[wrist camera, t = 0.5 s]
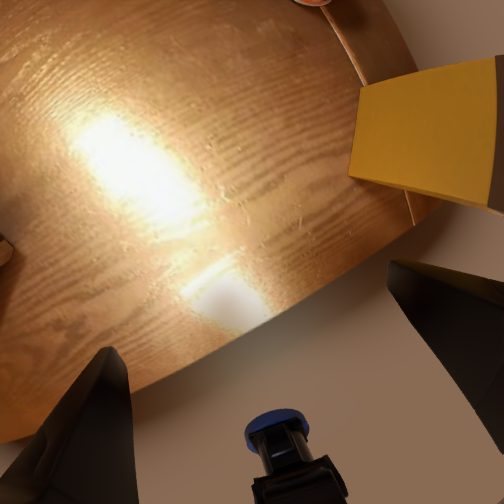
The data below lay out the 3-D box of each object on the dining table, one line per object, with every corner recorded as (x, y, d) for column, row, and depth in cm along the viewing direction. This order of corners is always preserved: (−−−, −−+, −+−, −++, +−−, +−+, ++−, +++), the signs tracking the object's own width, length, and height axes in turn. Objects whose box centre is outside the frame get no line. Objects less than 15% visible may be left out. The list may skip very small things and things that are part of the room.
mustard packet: (388, 187, 22) (538, 229, 9) (346, 176, 20) (508, 213, 8) (400, 104, 20) (546, 95, 7) (359, 86, 19) (514, 53, 6)
